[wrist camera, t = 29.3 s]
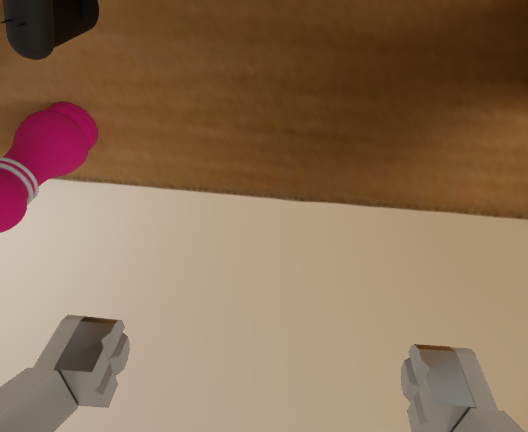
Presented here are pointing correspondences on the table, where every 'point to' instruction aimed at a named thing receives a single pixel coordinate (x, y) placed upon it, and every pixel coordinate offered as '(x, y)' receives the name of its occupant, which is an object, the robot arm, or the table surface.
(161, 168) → the table surface
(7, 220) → the pepper mill
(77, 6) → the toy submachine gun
